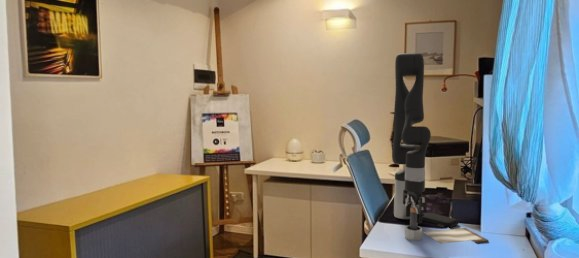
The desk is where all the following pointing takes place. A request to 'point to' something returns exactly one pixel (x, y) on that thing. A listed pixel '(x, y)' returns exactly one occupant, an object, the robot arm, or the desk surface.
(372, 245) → the desk surface
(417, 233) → the pen cup
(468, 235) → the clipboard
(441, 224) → the carrying case or bag
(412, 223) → the marker
